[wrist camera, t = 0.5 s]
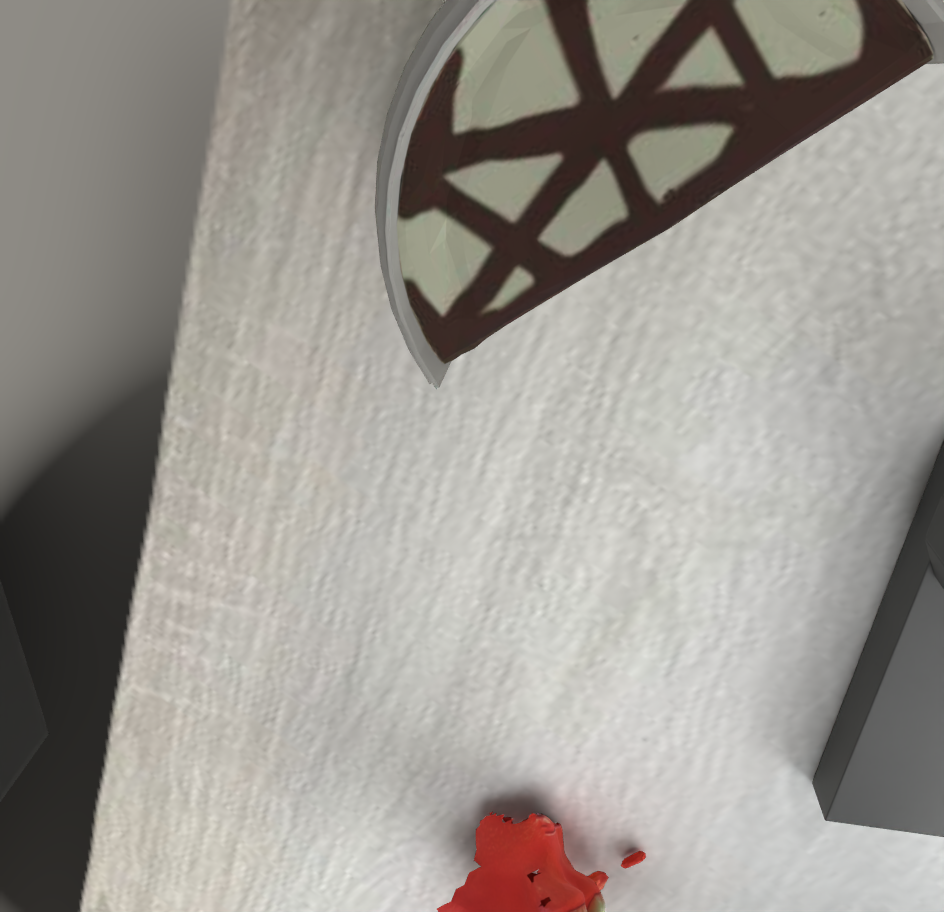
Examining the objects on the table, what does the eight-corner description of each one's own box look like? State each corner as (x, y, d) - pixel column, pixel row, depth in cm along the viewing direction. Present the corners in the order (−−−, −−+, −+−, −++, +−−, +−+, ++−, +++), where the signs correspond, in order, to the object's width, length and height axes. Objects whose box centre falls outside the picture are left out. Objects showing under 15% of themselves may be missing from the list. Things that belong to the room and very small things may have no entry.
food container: (727, -199, 22) (848, -343, 13) (834, 30, 24) (1003, 40, 15) (337, 101, 26) (225, 147, 17) (458, 277, 28) (415, 401, 19)
